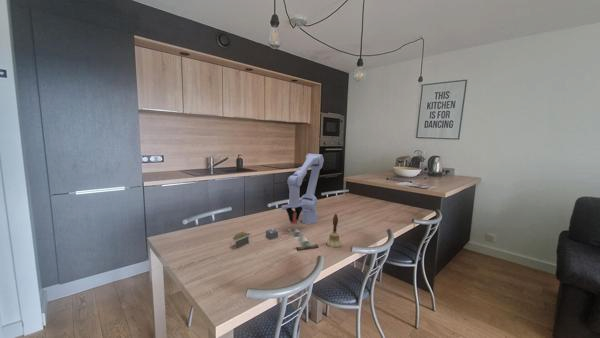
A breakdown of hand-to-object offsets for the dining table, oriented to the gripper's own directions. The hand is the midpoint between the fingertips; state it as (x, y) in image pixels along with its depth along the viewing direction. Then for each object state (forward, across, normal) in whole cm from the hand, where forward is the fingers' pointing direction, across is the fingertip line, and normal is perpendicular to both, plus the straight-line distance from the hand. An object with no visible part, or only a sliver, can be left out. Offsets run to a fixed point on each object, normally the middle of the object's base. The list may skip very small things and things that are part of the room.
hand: (293, 220), depth 139 cm
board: (+7, +1, +9) cm, 12 cm away
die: (+7, +15, +3) cm, 17 cm away
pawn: (+2, 0, 0) cm, 2 cm away
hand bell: (+8, -12, +22) cm, 26 cm away
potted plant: (+8, +31, +2) cm, 32 cm away
